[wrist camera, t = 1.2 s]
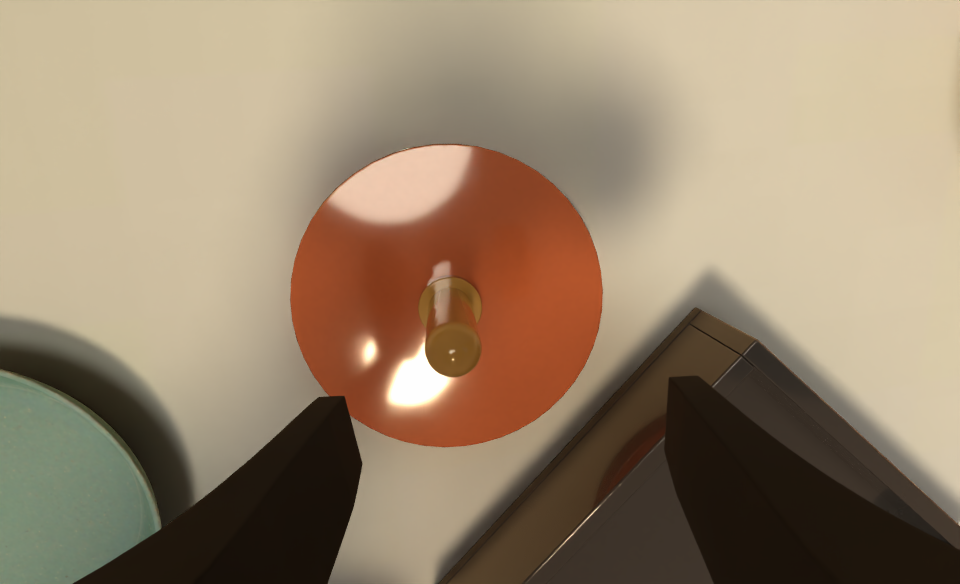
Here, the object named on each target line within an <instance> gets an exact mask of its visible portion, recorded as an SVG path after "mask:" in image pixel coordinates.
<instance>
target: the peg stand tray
mask: <svg viewBox="0 0 960 584" xmlns="http://www.w3.org/2000/svg"><path fill="white" fill-rule="evenodd" d="M696 375H698V376H699V377H700V378H702V379H703V380H704V381H705V382H707V383H708V384H709V385H710V386H711V387H713V388H714V389H715V390H716V391H717V392H718V393H720V394H721V395H722V396H723V397H724V398H726V399H727V400H728V401H729V402H730V403H732V404H733V405H734V406H735V407H736V408H738V409H739V410H740V411H741V412H742V413H744V414H745V415H746V416H747V417H749V418H750V419H751V420H752V421H753V422H755V423H756V424H757V425H759V426H760V427H761V428H762V429H764V430H765V431H766V432H767V433H769V434H770V435H771V436H773V437H774V438H775V439H777V440H778V441H779V442H781V443H782V444H783V445H785V446H786V447H787V448H789V449H790V450H792V451H793V452H794V453H796V454H797V455H799V456H800V457H801V458H803V459H804V460H806V461H807V462H809V463H810V464H811V465H813V466H814V467H816V468H817V469H819V470H820V471H822V472H823V473H825V474H826V475H828V476H829V477H831V478H832V479H834V480H835V481H837V482H838V483H840V484H842V485H843V486H845V487H847V488H848V489H850V490H852V491H853V492H855V493H856V494H858V495H860V496H861V497H863V498H865V499H866V500H868V501H869V502H871V503H873V504H875V505H876V506H878V507H880V508H882V509H883V510H885V511H887V512H889V513H890V514H892V515H894V516H896V517H897V518H899V519H901V520H903V521H905V522H907V523H909V524H911V525H913V526H914V527H916V528H918V529H920V530H922V531H924V532H926V533H928V534H930V535H931V536H933V537H935V538H937V539H939V540H941V541H943V542H945V543H947V544H949V545H951V546H953V547H955V548H957V549H959V550H960V526H959V525H958V524H957V523H956V522H955V521H954V520H953V519H952V518H951V517H950V516H948V515H947V514H946V513H945V512H944V511H943V510H942V509H941V508H940V507H939V506H938V505H937V504H935V503H934V502H933V501H932V500H931V499H930V498H929V497H928V496H927V495H926V494H925V493H924V492H922V491H921V490H920V489H919V488H918V487H917V486H916V485H915V484H914V483H913V482H912V481H910V480H909V479H908V478H907V477H906V476H905V475H904V474H903V473H902V472H901V471H900V470H899V469H897V468H896V467H895V466H894V465H893V464H892V463H891V462H890V461H889V460H888V459H887V458H886V457H884V456H883V455H882V454H881V453H880V452H879V451H878V450H877V449H876V448H875V447H874V446H873V445H871V444H870V443H869V442H868V441H867V440H866V439H865V438H864V437H863V436H862V435H861V434H860V433H858V432H857V431H856V430H855V429H854V428H853V427H852V426H851V425H850V424H849V423H848V422H846V421H845V420H844V419H843V418H842V417H841V416H840V415H839V414H838V413H837V412H836V411H835V410H833V409H832V408H831V407H830V406H829V405H828V404H827V403H826V402H825V401H824V400H823V399H822V398H820V397H819V396H818V395H817V394H816V393H815V392H814V391H813V390H812V389H811V388H810V387H809V386H807V385H806V384H805V383H804V382H803V381H802V380H801V379H800V378H799V377H798V376H797V375H795V374H794V373H793V372H792V371H791V370H790V369H789V368H788V367H787V366H786V365H785V364H784V363H782V362H781V361H780V360H779V359H778V358H777V357H776V356H775V355H774V354H773V353H772V352H771V351H769V350H768V349H767V348H766V347H765V346H764V345H763V344H762V343H761V342H760V341H759V340H757V339H756V338H754V337H752V336H750V335H748V334H746V333H744V332H742V331H740V330H738V329H736V328H735V327H733V326H731V325H729V324H727V323H725V322H723V321H721V320H719V319H717V318H715V317H714V316H712V315H710V314H708V313H706V312H704V311H702V310H700V309H698V308H694V309H693V310H692V311H691V313H690V314H689V315H688V316H687V317H686V318H685V319H684V320H683V321H682V322H681V323H680V324H679V325H678V327H677V328H676V329H675V330H674V331H673V332H672V333H671V334H670V335H669V336H668V337H667V338H666V339H665V340H664V342H663V343H662V344H661V345H660V346H659V347H658V348H657V349H656V350H655V351H654V352H653V353H652V354H651V356H650V357H649V358H648V359H647V360H646V361H645V362H644V363H643V364H642V365H641V366H640V367H639V368H638V370H637V371H636V372H635V373H634V374H633V375H632V376H631V377H630V378H629V379H628V380H627V381H626V382H625V384H624V385H623V386H622V387H621V388H620V389H619V390H618V391H617V392H616V393H615V394H614V395H613V396H612V398H611V399H610V400H609V401H608V402H607V403H606V404H605V405H604V406H603V407H602V408H601V409H600V410H599V411H598V413H597V414H596V415H595V416H594V417H593V418H592V419H591V420H590V421H589V422H588V423H587V424H586V425H585V427H584V428H583V429H582V430H581V431H580V432H579V433H578V434H577V435H576V436H575V437H574V438H573V439H572V441H571V442H570V443H569V444H568V445H567V446H566V447H565V448H564V449H563V450H562V451H561V452H560V453H559V455H558V456H557V457H556V458H555V459H554V460H553V461H552V462H551V463H550V464H549V465H548V466H547V467H546V469H545V470H544V471H543V472H542V473H541V474H540V475H539V476H538V477H537V478H536V479H535V480H534V481H533V482H532V484H531V485H530V486H529V487H528V488H527V489H526V490H525V491H524V492H523V493H522V494H521V495H520V496H519V498H518V499H517V500H516V501H515V502H514V503H513V504H512V505H511V506H510V507H509V508H508V509H507V510H506V512H505V513H504V514H503V515H502V516H501V517H500V518H499V519H498V520H497V521H496V522H495V523H494V524H493V526H492V527H491V528H490V529H489V530H488V531H487V532H486V533H485V534H484V535H483V536H482V537H481V538H480V540H479V541H478V542H477V543H476V544H475V545H474V546H473V547H472V548H471V549H470V550H469V551H468V552H467V553H466V555H465V556H464V557H463V558H462V559H461V560H460V561H459V562H458V563H457V564H456V565H455V566H454V567H453V569H452V570H451V571H450V572H449V573H448V574H447V575H446V576H445V577H444V578H443V579H442V580H441V581H440V583H439V584H714V583H713V581H712V578H711V576H710V574H709V571H708V569H707V566H706V564H705V562H704V559H703V557H702V555H701V552H700V550H699V547H698V545H697V543H696V540H695V538H694V536H693V533H692V531H691V528H690V526H689V524H688V521H687V519H686V516H685V514H684V511H683V509H682V507H681V504H680V502H679V499H678V497H677V494H676V491H675V488H674V484H673V481H672V477H671V474H670V470H669V466H668V463H667V459H666V455H665V452H664V444H665V428H666V413H667V397H668V382H669V377H679V376H696Z"/></svg>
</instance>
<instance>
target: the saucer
mask: <svg viewBox="0 0 960 584" xmlns="http://www.w3.org/2000/svg"><path fill="white" fill-rule="evenodd" d="M161 528H162V526H161V520H160V514H159V509H158V505H157V501H156V498H155V495H154V492H153V489H152V487H151V484H150V482H149V480H148V478H147V475H146V473H145V471H144V470H143V468H142V466H141V464H140V463H139V461H138V459H137V458H136V456H135V455H134V454H133V452H132V451H131V449H130V448H129V447H128V445H127V444H126V443H125V442H124V440H123V439H122V438H121V437H120V436H119V435H118V434H117V433H116V431H115V430H114V429H113V428H112V427H110V426H109V425H108V424H107V423H106V422H105V421H104V420H103V419H102V418H100V417H99V416H98V415H97V414H96V413H94V412H93V411H92V410H90V409H89V408H88V407H86V406H85V405H83V404H82V403H80V402H79V401H77V400H75V399H74V398H72V397H70V396H69V395H67V394H65V393H63V392H61V391H59V390H57V389H55V388H53V387H51V386H49V385H46V384H44V383H42V382H39V381H37V380H34V379H32V378H29V377H26V376H23V375H20V374H17V373H14V372H10V371H6V370H2V369H0V584H73V583H74V582H76V581H78V580H80V579H81V578H83V577H85V576H86V575H88V574H90V573H92V572H93V571H95V570H97V569H99V568H100V567H102V566H104V565H105V564H107V563H109V562H110V561H112V560H113V559H115V558H116V557H118V556H120V555H121V554H123V553H124V552H126V551H127V550H129V549H131V548H132V547H134V546H135V545H137V544H138V543H140V542H141V541H143V540H145V539H146V538H148V537H149V536H151V535H152V534H154V533H156V532H157V531H159V530H160V529H161Z"/></svg>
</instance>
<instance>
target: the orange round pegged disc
mask: <svg viewBox="0 0 960 584" xmlns="http://www.w3.org/2000/svg"><path fill="white" fill-rule="evenodd" d="M602 295H603V289H602V278H601V270H600V265H599V261H598V257H597V252H596V249H595V247H594V244H593V241H592V239H591V236H590V234H589V232H588V230H587V228H586V226H585V224H584V222H583V221H582V219H581V217H580V215H579V214H578V212H577V211H576V210H575V208H574V207H573V206H572V204H571V203H570V201H569V200H568V199H567V198H566V197H565V196H564V195H563V194H562V193H561V192H560V190H559V189H558V188H557V187H556V186H555V185H554V184H553V183H551V182H550V181H549V180H548V179H546V178H545V177H544V176H542V175H541V174H540V173H539V172H537V171H536V170H534V169H532V168H531V167H529V166H527V165H526V164H524V163H522V162H521V161H519V160H517V159H514V158H512V157H509V156H507V155H505V154H502V153H500V152H497V151H493V150H489V149H485V148H482V147H478V146H470V145H462V144H432V145H425V146H418V147H412V148H409V149H405V150H402V151H398V152H395V153H392V154H389V155H387V156H385V157H383V158H380V159H378V160H376V161H374V162H372V163H370V164H368V165H367V166H365V167H364V168H362V169H360V170H359V171H357V172H356V173H354V174H353V175H352V176H350V177H349V178H348V179H347V180H345V181H344V182H343V183H342V184H341V185H339V186H338V187H337V188H336V189H335V190H334V191H333V193H332V194H331V195H330V196H329V197H328V198H327V199H326V200H325V201H324V202H323V204H322V205H321V207H320V208H319V209H318V211H317V212H316V214H315V215H314V217H313V218H312V220H311V221H310V223H309V225H308V227H307V229H306V231H305V233H304V235H303V237H302V239H301V242H300V245H299V248H298V251H297V254H296V257H295V261H294V267H293V272H292V278H291V295H290V302H291V313H292V321H293V325H294V330H295V334H296V338H297V341H298V344H299V346H300V349H301V352H302V354H303V357H304V359H305V361H306V363H307V365H308V366H309V368H310V370H311V372H312V374H313V375H314V377H315V378H316V380H317V381H318V382H319V384H320V385H321V386H322V388H323V389H324V391H325V392H326V393H327V394H328V395H329V396H345V399H346V403H347V407H348V411H349V414H350V415H351V416H352V417H353V418H355V419H356V420H358V421H360V422H361V423H363V424H364V425H366V426H368V427H369V428H371V429H373V430H375V431H378V432H380V433H382V434H384V435H386V436H389V437H392V438H395V439H398V440H401V441H404V442H408V443H413V444H418V445H424V446H436V447H456V446H467V445H473V444H479V443H484V442H487V441H490V440H494V439H497V438H500V437H503V436H505V435H507V434H510V433H512V432H514V431H517V430H519V429H520V428H522V427H524V426H526V425H527V424H529V423H531V422H533V421H534V420H536V419H537V418H538V417H540V416H541V415H542V414H544V413H545V412H546V411H547V410H549V409H550V408H551V407H552V406H553V405H554V404H555V403H556V402H557V401H558V400H559V399H560V398H561V397H562V396H563V395H564V394H565V393H566V392H567V390H568V389H569V388H570V387H571V385H572V384H573V383H574V382H575V380H576V379H577V377H578V375H579V374H580V372H581V371H582V369H583V367H584V366H585V364H586V362H587V359H588V357H589V355H590V353H591V351H592V348H593V346H594V342H595V339H596V336H597V333H598V330H599V324H600V318H601V313H602Z"/></svg>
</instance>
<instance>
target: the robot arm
mask: <svg viewBox="0 0 960 584" xmlns="http://www.w3.org/2000/svg"><path fill="white" fill-rule="evenodd" d="M664 452H665V455H666V459H667V463H668V466H669V470H670V474H671V477H672V481H673V484H674V488H675V491H676V494H677V497H678V499H679V502H680V504H681V507H682V509H683V511H684V514H685V516H686V519H687V521H688V524H689V526H690V528H691V531H692V533H693V536H694V538H695V540H696V543H697V545H698V547H699V550H700V552H701V555H702V557H703V559H704V562H705V564H706V566H707V569H708V571H709V574H710V576H711V578H712V581H713V583H714V584H960V550H959V549H957V548H955V547H953V546H951V545H949V544H947V543H945V542H943V541H941V540H939V539H937V538H935V537H933V536H931V535H930V534H928V533H926V532H924V531H922V530H920V529H918V528H916V527H914V526H913V525H911V524H909V523H907V522H905V521H903V520H901V519H899V518H897V517H896V516H894V515H892V514H890V513H889V512H887V511H885V510H883V509H882V508H880V507H878V506H876V505H875V504H873V503H871V502H869V501H868V500H866V499H865V498H863V497H861V496H860V495H858V494H856V493H855V492H853V491H852V490H850V489H848V488H847V487H845V486H843V485H842V484H840V483H838V482H837V481H835V480H834V479H832V478H831V477H829V476H828V475H826V474H825V473H823V472H822V471H820V470H819V469H817V468H816V467H814V466H813V465H811V464H810V463H809V462H807V461H806V460H804V459H803V458H801V457H800V456H799V455H797V454H796V453H794V452H793V451H792V450H790V449H789V448H787V447H786V446H785V445H783V444H782V443H781V442H779V441H778V440H777V439H775V438H774V437H773V436H771V435H770V434H769V433H767V432H766V431H765V430H764V429H762V428H761V427H760V426H759V425H757V424H756V423H755V422H753V421H752V420H751V419H750V418H749V417H747V416H746V415H745V414H744V413H742V412H741V411H740V410H739V409H738V408H736V407H735V406H734V405H733V404H732V403H730V402H729V401H728V400H727V399H726V398H724V397H723V396H722V395H721V394H720V393H718V392H717V391H716V390H715V389H714V388H713V387H711V386H710V385H709V384H708V383H707V382H705V381H704V380H703V379H702V378H700V377H699V376H698V375H696V376H679V377H669V382H668V397H667V413H666V428H665V444H664ZM361 469H362V460H361V457H360V453H359V449H358V445H357V441H356V438H355V434H354V430H353V426H352V422H351V418H350V415H349V411H348V407H347V403H346V399H345V396H329V397H318V398H317V399H316V400H315V401H313V402H312V403H311V404H310V405H309V406H308V407H307V408H306V409H304V410H303V411H302V412H301V413H300V414H299V415H298V416H297V417H296V418H295V419H294V420H293V421H291V422H290V423H289V424H288V425H287V426H286V427H285V428H284V429H283V430H282V431H281V432H280V433H279V434H277V435H276V436H275V437H274V438H273V439H272V440H271V441H270V442H269V443H268V444H267V445H265V446H264V447H263V448H262V449H261V450H260V451H259V452H258V453H257V454H256V455H254V456H253V457H252V458H251V459H250V460H249V461H247V462H246V463H245V464H244V465H243V466H242V467H240V468H239V469H238V470H237V471H236V472H234V473H233V474H232V475H231V476H230V477H228V478H227V479H226V480H225V481H224V482H223V483H221V484H220V485H219V486H218V487H217V488H215V489H214V490H213V491H212V492H210V493H209V494H208V495H207V496H205V497H204V498H203V499H201V500H200V501H199V502H197V503H196V504H195V505H194V506H192V507H191V508H190V509H188V510H187V511H185V512H184V513H183V514H181V515H180V516H178V517H177V518H176V519H174V520H173V521H171V522H170V523H169V524H167V525H166V526H164V527H163V528H161V529H160V530H159V531H157V532H156V533H154V534H152V535H151V536H149V537H148V538H146V539H145V540H143V541H141V542H140V543H138V544H137V545H135V546H134V547H132V548H131V549H129V550H127V551H126V552H124V553H123V554H121V555H120V556H118V557H116V558H115V559H113V560H112V561H110V562H109V563H107V564H105V565H104V566H102V567H100V568H99V569H97V570H95V571H93V572H92V573H90V574H88V575H86V576H85V577H83V578H81V579H80V580H78V581H76V582H74V583H73V584H328V581H329V578H330V575H331V572H332V569H333V566H334V563H335V560H336V558H337V555H338V552H339V549H340V546H341V543H342V540H343V537H344V534H345V531H346V528H347V525H348V522H349V519H350V516H351V513H352V510H353V507H354V503H355V499H356V494H357V489H358V484H359V479H360V474H361Z"/></svg>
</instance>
